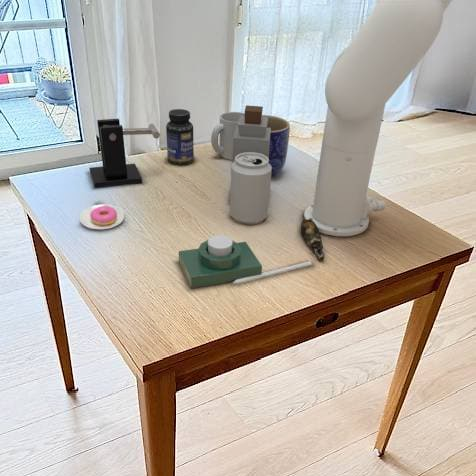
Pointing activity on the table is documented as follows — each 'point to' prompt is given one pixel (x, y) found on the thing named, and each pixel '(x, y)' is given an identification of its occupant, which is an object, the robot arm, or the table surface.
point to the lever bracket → (113, 158)
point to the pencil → (273, 272)
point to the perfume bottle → (252, 133)
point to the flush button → (220, 246)
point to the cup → (225, 134)
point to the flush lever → (140, 130)
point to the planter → (278, 142)
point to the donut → (101, 216)
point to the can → (250, 187)
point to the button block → (218, 265)
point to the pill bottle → (180, 137)
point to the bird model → (312, 237)
